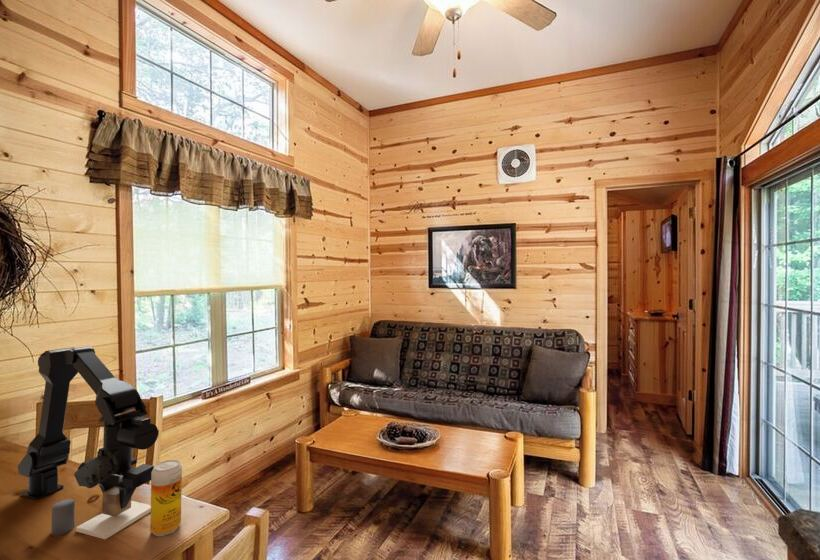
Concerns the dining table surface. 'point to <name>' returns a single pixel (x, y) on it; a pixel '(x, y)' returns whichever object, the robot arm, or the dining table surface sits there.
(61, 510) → the post
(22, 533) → the dining table surface
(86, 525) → the ceramic tile
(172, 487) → the yellow canister
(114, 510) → the walnut block
